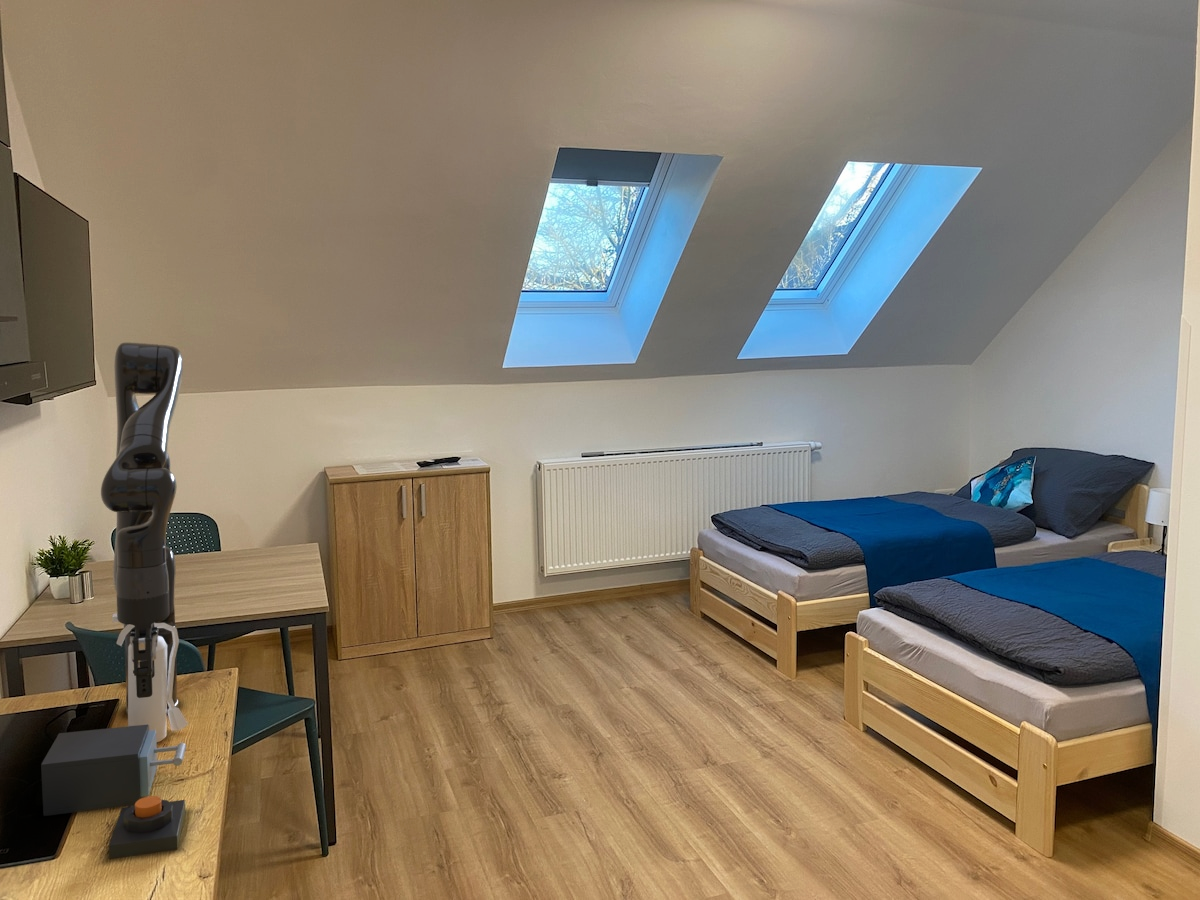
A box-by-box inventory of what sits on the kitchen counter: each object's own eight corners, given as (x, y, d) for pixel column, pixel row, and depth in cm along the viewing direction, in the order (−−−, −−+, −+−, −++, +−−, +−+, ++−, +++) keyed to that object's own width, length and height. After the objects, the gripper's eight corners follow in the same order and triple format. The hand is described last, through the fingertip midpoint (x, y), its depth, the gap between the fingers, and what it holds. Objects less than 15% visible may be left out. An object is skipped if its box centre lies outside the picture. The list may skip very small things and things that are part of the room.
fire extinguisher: (187, 741, 167) (184, 611, 164) (114, 749, 163) (109, 617, 160) (190, 726, 174) (186, 601, 171) (120, 734, 169) (115, 606, 166)
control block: (122, 820, 140) (121, 796, 139) (185, 812, 143) (184, 788, 142) (109, 859, 129) (108, 833, 129) (177, 849, 132) (176, 824, 132)
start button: (137, 808, 137) (136, 797, 136) (163, 805, 138) (162, 794, 138) (133, 820, 133) (132, 809, 133) (160, 817, 134) (159, 806, 134)
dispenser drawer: (188, 763, 157) (187, 726, 156) (181, 792, 147) (180, 752, 146) (75, 776, 151) (73, 738, 150) (60, 807, 141) (58, 766, 141)
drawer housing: (150, 771, 155) (148, 724, 154) (139, 804, 145) (138, 753, 144) (61, 781, 151) (58, 733, 150) (43, 816, 140) (40, 764, 139)
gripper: (167, 600, 139) (170, 700, 141) (169, 577, 152) (172, 669, 154) (112, 605, 136) (116, 707, 138) (119, 581, 149) (123, 674, 151)
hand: (146, 687), depth 146 cm, fingers open, 8 cm apart
